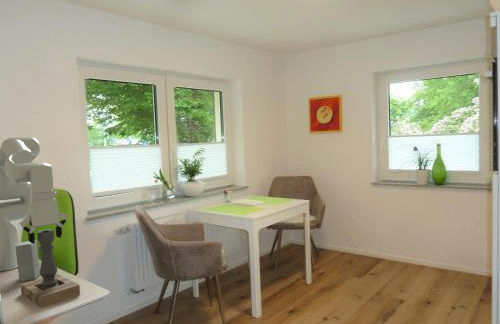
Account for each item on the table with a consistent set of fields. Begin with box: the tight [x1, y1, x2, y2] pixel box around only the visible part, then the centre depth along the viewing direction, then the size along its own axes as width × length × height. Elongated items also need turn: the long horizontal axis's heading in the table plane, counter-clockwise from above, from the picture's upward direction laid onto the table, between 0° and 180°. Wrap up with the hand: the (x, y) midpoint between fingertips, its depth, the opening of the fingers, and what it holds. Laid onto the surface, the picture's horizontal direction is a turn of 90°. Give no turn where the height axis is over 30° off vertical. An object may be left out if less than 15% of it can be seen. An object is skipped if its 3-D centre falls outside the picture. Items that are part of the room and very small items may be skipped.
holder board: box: [20, 273, 81, 308], centre depth 150 cm, size 20×14×4 cm
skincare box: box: [15, 239, 41, 282], centre depth 169 cm, size 8×7×16 cm
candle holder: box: [36, 229, 59, 291], centre depth 149 cm, size 6×6×25 cm
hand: (45, 239), depth 149 cm, fingers open, 9 cm apart
